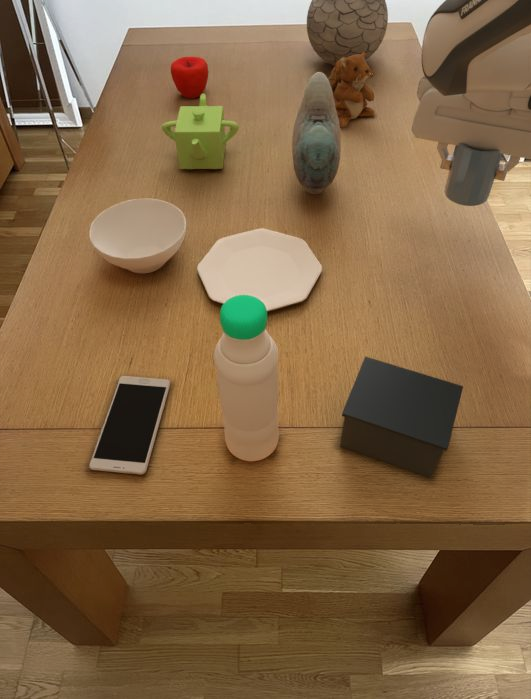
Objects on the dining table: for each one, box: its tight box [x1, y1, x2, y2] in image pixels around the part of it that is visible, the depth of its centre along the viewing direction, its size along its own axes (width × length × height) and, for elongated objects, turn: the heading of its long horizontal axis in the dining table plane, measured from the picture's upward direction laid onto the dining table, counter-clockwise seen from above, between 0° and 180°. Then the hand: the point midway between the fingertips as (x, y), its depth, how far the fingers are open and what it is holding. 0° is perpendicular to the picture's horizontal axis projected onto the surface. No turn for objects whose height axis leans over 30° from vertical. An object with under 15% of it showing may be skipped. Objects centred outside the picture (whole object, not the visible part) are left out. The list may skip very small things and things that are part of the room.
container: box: [339, 356, 464, 479], centre depth 72 cm, size 13×10×8 cm
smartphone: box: [88, 375, 171, 476], centre depth 76 cm, size 8×1×15 cm
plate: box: [196, 228, 323, 313], centre depth 95 cm, size 20×20×2 cm
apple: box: [170, 56, 209, 99], centre depth 134 cm, size 9×9×8 cm
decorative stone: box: [291, 71, 342, 195], centre depth 104 cm, size 21×9×20 cm, turn 177°
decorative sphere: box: [306, 0, 389, 67], centre depth 139 cm, size 20×20×20 cm
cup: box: [444, 143, 503, 207], centre depth 85 cm, size 7×7×9 cm
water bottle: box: [213, 295, 280, 462], centre depth 65 cm, size 7×7×25 cm
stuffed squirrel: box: [328, 52, 376, 129], centre depth 125 cm, size 10×14×13 cm
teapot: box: [161, 93, 240, 170], centre depth 114 cm, size 15×13×11 cm
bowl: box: [88, 198, 187, 274], centre depth 96 cm, size 16×16×7 cm
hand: (472, 172), depth 86 cm, fingers closed on cup, 7 cm apart
